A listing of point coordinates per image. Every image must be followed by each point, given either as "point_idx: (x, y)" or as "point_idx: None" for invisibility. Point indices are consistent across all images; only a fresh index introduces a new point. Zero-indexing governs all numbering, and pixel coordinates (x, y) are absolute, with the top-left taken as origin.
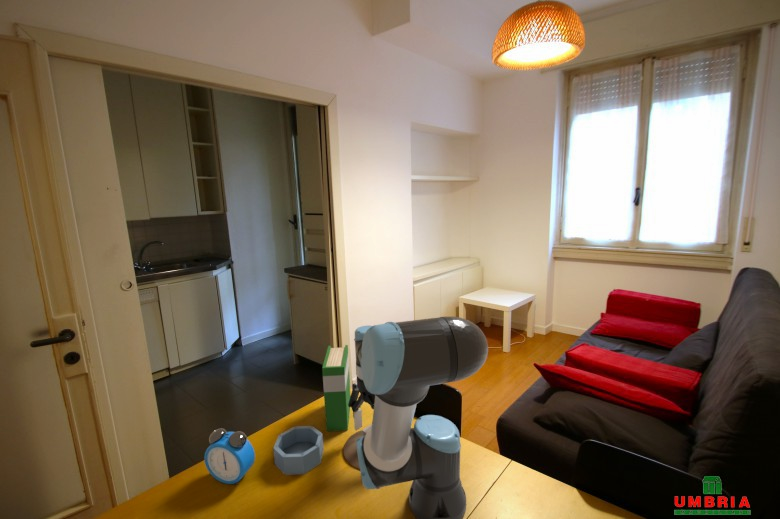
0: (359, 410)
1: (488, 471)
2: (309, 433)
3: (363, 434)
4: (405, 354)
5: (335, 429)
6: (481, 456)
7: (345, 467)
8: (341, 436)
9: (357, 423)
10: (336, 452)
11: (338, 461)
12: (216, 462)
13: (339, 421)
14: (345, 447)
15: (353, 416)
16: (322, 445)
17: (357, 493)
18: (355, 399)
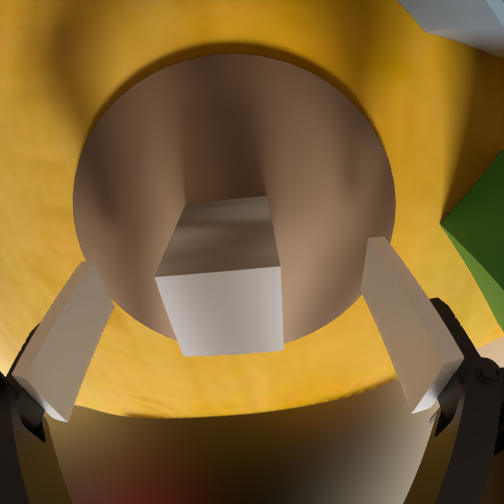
0: (421, 401)
1: (6, 371)
2: None
3: (256, 247)
4: None
5: (483, 182)
6: None
7: (207, 22)
8: (435, 169)
9: (386, 286)
10: (361, 58)
11: (284, 17)
12: None
13: (498, 220)
14: (345, 110)
15: (449, 309)
16: (437, 8)
17: (32, 21)
18: (498, 473)
